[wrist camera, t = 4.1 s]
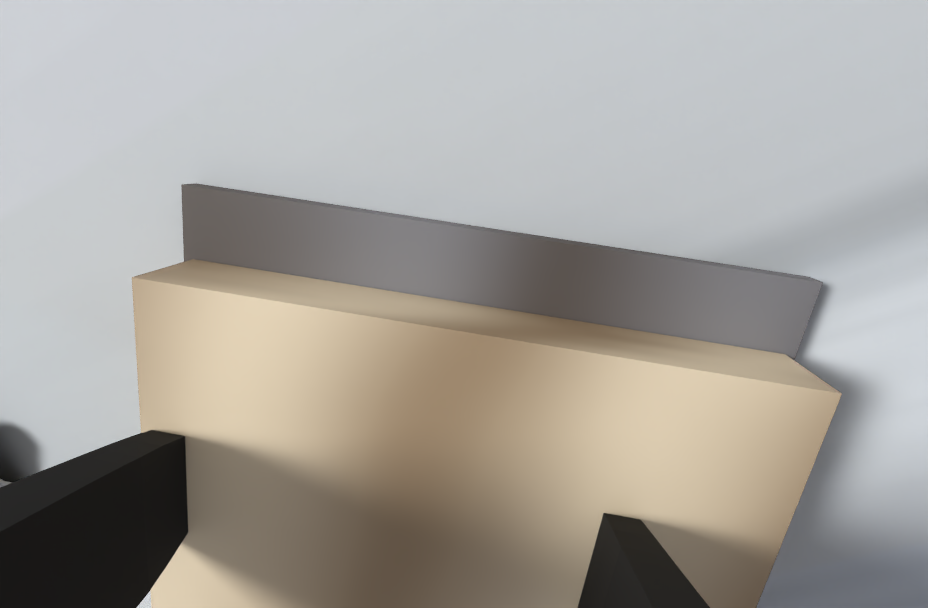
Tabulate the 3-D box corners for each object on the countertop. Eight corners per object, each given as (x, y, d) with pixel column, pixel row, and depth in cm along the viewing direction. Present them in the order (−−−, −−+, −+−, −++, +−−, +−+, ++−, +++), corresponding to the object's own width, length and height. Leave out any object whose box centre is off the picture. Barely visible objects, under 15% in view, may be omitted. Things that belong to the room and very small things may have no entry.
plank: (785, 354, 8) (842, 394, 7) (667, 684, 11) (692, 766, 9) (193, 259, 9) (132, 277, 7) (200, 592, 11) (154, 655, 10)
